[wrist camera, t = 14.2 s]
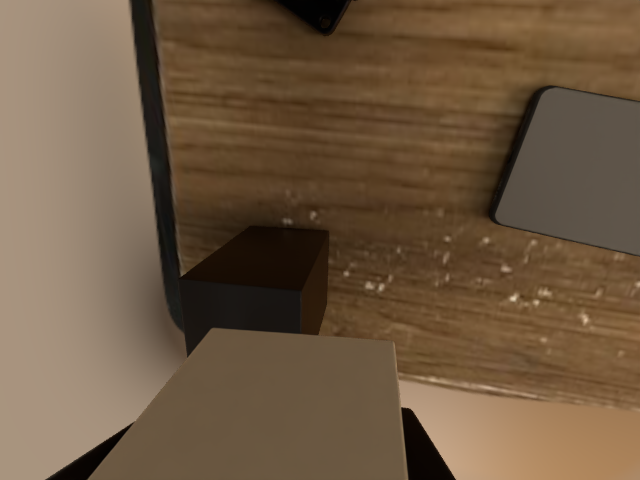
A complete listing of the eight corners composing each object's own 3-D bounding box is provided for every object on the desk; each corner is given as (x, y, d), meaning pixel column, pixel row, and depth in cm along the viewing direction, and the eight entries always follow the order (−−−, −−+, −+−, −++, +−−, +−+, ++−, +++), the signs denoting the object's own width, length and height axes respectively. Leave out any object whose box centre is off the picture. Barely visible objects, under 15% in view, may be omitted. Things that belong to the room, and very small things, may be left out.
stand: (252, 297, 22) (189, 382, 14) (249, 225, 20) (177, 279, 13) (326, 304, 21) (301, 398, 14) (329, 230, 20) (301, 290, 12)
